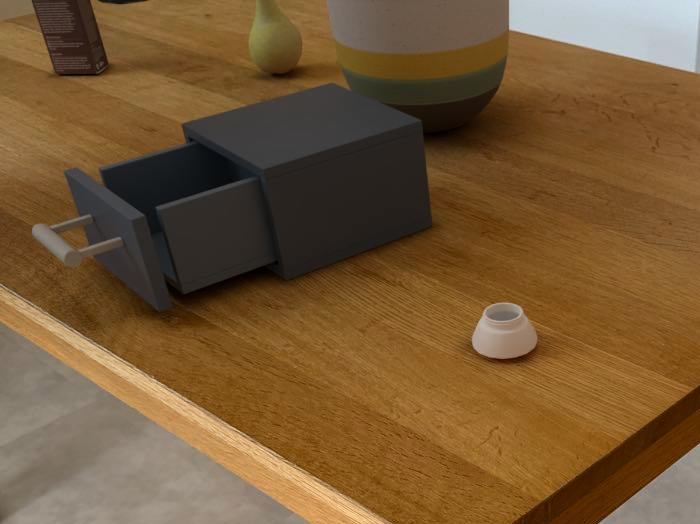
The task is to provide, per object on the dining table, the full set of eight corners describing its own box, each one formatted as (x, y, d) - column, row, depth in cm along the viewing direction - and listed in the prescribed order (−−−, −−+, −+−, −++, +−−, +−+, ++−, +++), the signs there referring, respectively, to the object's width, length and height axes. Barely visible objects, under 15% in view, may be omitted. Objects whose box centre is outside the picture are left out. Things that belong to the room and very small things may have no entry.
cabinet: (286, 281, 88) (262, 169, 81) (207, 228, 96) (180, 123, 90) (432, 226, 95) (422, 120, 89) (347, 182, 104) (332, 82, 97)
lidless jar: (541, 359, 77) (532, 327, 80) (540, 325, 75) (530, 293, 78) (476, 366, 76) (469, 333, 80) (473, 331, 74) (467, 299, 78)
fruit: (310, 64, 134) (293, -38, 126) (300, 82, 128) (282, -23, 120) (260, 66, 134) (240, -36, 126) (248, 84, 128) (226, -21, 120)
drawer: (101, 333, 80) (67, 239, 74) (38, 276, 87) (4, 187, 82) (314, 256, 89) (297, 167, 84) (240, 210, 97) (220, 126, 91)
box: (111, 65, 136) (81, -36, 128) (97, 75, 133) (66, -27, 125) (68, 65, 136) (36, -35, 129) (53, 75, 133) (19, -27, 125)
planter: (548, 113, 117) (543, -102, 103) (444, 169, 105) (423, -65, 91) (418, 86, 126) (398, -116, 112) (309, 135, 114) (271, -84, 100)
